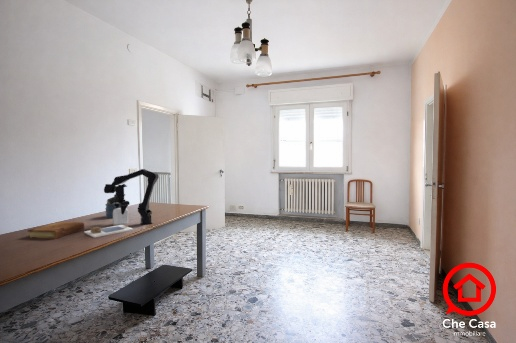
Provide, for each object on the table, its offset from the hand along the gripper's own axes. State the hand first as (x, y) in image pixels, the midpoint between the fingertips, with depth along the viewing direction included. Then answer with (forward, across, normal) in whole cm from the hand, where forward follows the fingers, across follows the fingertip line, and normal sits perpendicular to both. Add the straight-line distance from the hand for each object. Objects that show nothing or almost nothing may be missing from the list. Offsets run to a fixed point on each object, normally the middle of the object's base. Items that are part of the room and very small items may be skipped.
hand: (120, 213), depth 199 cm
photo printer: (+8, 0, 0) cm, 8 cm away
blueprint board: (+8, +16, -14) cm, 23 cm away
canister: (+8, -28, +6) cm, 30 cm away
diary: (+9, -4, -38) cm, 39 cm away
